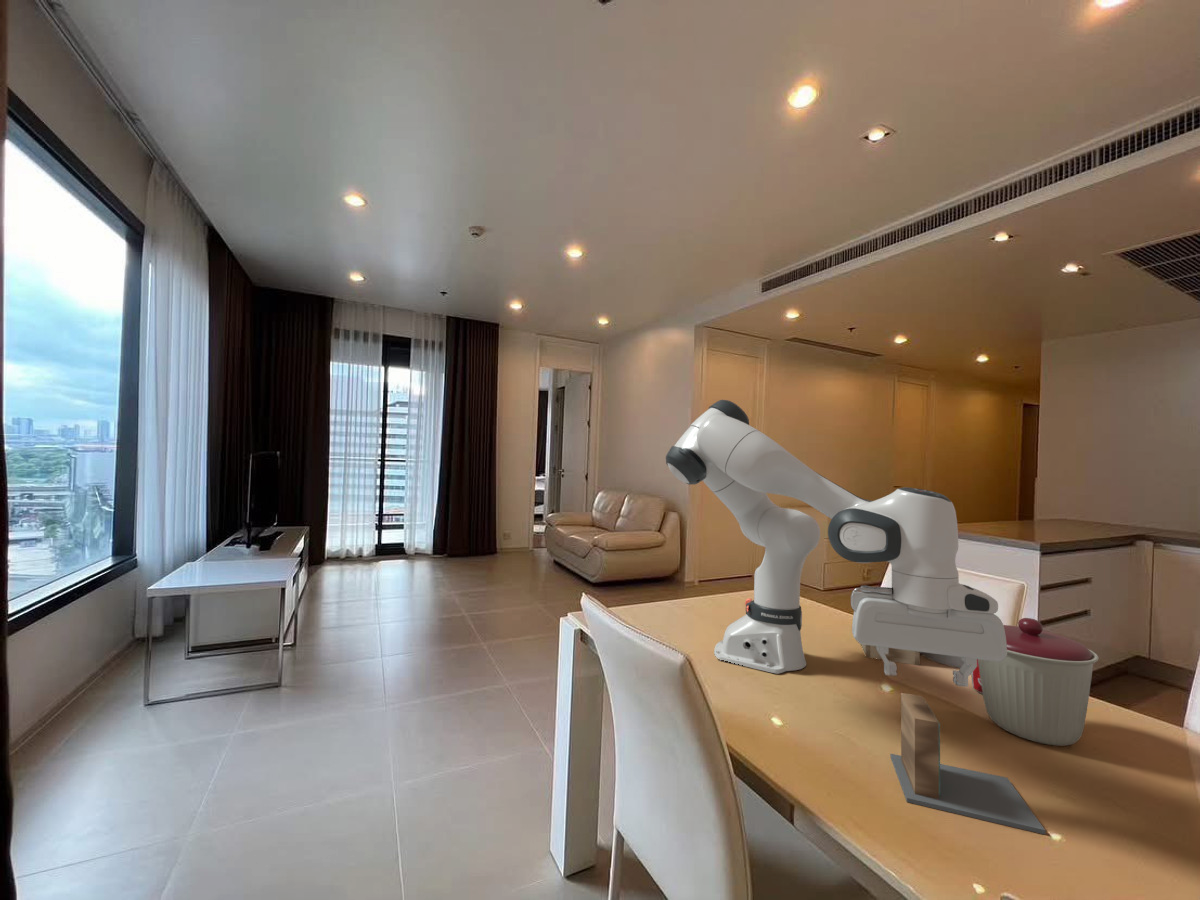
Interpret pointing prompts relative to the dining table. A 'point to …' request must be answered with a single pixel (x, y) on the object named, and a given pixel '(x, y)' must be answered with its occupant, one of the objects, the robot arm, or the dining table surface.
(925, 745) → the walnut slab
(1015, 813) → the rubber mat
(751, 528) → the robot arm
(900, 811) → the dining table surface
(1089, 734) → the dining table surface
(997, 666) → the canister
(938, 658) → the lumpy-topped squat cylinder
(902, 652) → the birch crate
